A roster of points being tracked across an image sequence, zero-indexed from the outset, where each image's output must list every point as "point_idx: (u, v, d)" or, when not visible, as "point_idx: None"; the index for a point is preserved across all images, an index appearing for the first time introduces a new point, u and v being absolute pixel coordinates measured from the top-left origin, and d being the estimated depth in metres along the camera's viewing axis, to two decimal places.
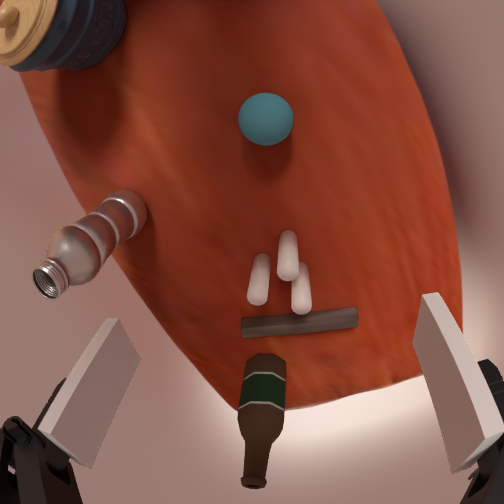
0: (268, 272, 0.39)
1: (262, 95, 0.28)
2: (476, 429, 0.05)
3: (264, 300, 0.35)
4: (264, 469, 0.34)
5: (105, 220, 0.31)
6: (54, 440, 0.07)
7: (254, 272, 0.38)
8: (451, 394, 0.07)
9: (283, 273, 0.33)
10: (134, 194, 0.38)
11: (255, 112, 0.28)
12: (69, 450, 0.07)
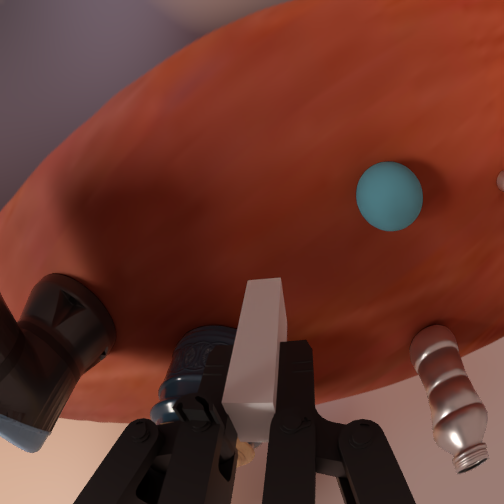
0: None
1: (364, 201, 0.23)
2: None
3: None
4: None
5: (442, 383, 0.26)
6: (239, 413, 0.08)
7: None
8: None
9: None
10: (420, 336, 0.32)
11: (388, 216, 0.22)
12: (253, 421, 0.08)
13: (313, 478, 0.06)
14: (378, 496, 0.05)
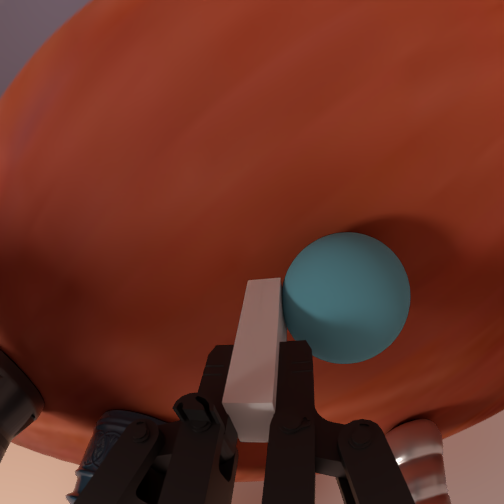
0: None
1: (288, 320, 0.12)
2: None
3: None
4: None
5: None
6: (239, 413, 0.08)
7: None
8: None
9: None
10: (394, 437, 0.22)
11: (331, 355, 0.11)
12: (253, 421, 0.08)
13: (313, 478, 0.06)
14: (378, 496, 0.05)
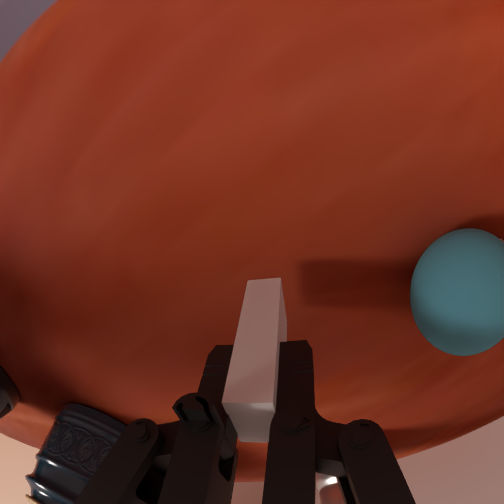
0: None
1: None
2: None
3: None
4: None
5: None
6: (239, 413, 0.08)
7: None
8: None
9: None
10: None
11: None
12: (253, 421, 0.08)
13: (313, 478, 0.06)
14: (378, 496, 0.05)
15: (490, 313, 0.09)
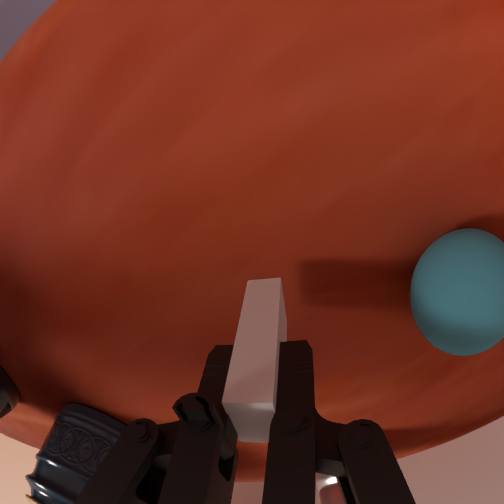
0: None
1: None
2: None
3: None
4: None
5: None
6: (239, 413, 0.08)
7: None
8: None
9: None
10: None
11: None
12: (253, 421, 0.08)
13: (313, 478, 0.06)
14: (378, 496, 0.05)
15: (490, 313, 0.09)
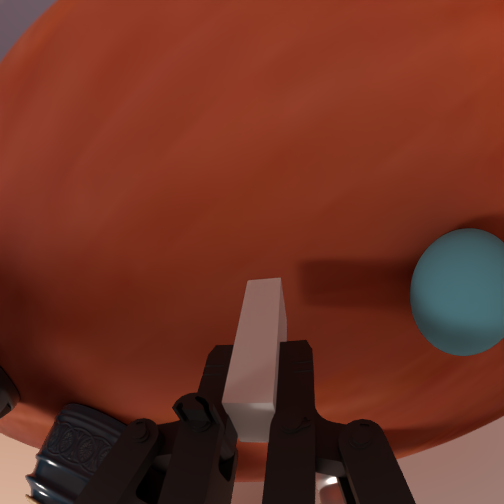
0: None
1: None
2: None
3: None
4: None
5: None
6: (239, 413, 0.08)
7: None
8: None
9: None
10: None
11: None
12: (253, 421, 0.08)
13: (313, 478, 0.06)
14: (378, 496, 0.05)
15: (490, 313, 0.09)
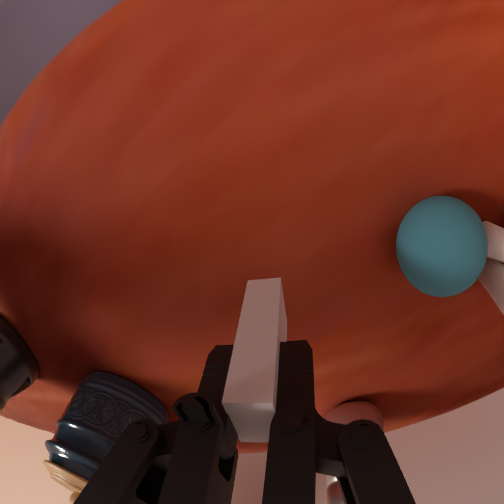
0: None
1: None
2: None
3: None
4: None
5: None
6: (239, 413, 0.08)
7: (501, 309, 0.15)
8: None
9: None
10: (332, 415, 0.26)
11: None
12: (253, 421, 0.08)
13: (313, 478, 0.06)
14: (378, 496, 0.05)
15: (456, 254, 0.13)
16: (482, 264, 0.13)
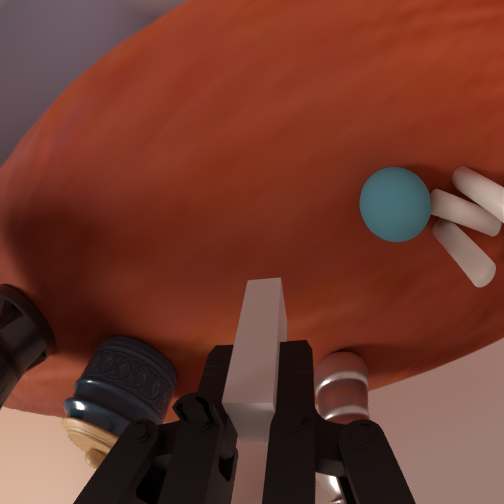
0: (457, 235, 0.22)
1: None
2: None
3: (491, 264, 0.17)
4: None
5: (330, 419, 0.26)
6: (239, 413, 0.08)
7: (453, 256, 0.22)
8: None
9: None
10: (322, 363, 0.33)
11: None
12: (253, 421, 0.08)
13: (313, 478, 0.06)
14: (378, 496, 0.05)
15: (401, 204, 0.19)
16: (425, 213, 0.19)
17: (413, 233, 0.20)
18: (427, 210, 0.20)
